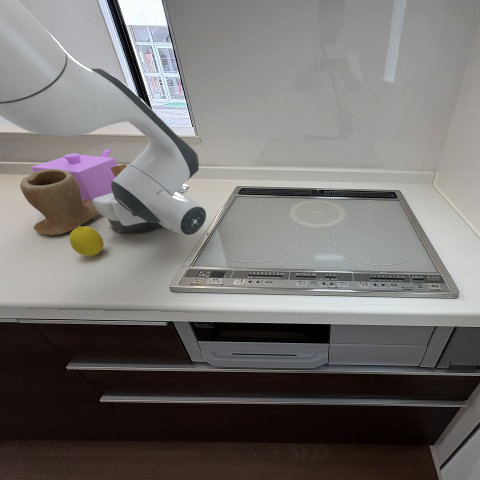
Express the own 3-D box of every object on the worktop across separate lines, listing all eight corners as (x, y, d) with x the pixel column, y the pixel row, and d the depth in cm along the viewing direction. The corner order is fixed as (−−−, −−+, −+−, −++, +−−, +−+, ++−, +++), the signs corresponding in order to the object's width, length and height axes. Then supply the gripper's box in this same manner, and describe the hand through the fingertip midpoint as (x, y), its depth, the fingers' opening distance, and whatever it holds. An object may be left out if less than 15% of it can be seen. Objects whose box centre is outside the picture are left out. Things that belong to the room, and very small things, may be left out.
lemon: (75, 258, 61) (56, 229, 57) (100, 246, 65) (85, 218, 61) (88, 265, 59) (70, 236, 55) (114, 252, 63) (99, 224, 59)
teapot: (143, 184, 96) (129, 144, 88) (81, 217, 76) (56, 170, 68) (106, 180, 98) (89, 141, 90) (36, 211, 77) (6, 164, 70)
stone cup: (66, 242, 66) (31, 186, 57) (29, 234, 68) (-10, 179, 60) (118, 214, 78) (95, 164, 70) (85, 208, 80) (60, 159, 72)
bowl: (99, 234, 69) (92, 219, 67) (132, 207, 82) (126, 194, 79) (158, 235, 70) (153, 220, 68) (181, 208, 83) (178, 195, 80)
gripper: (189, 177, 72) (160, 166, 78) (105, 205, 57) (78, 188, 63) (195, 198, 75) (167, 186, 81) (117, 229, 61) (90, 211, 67)
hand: (127, 187), depth 72 cm, fingers closed on sponge wand, 3 cm apart
